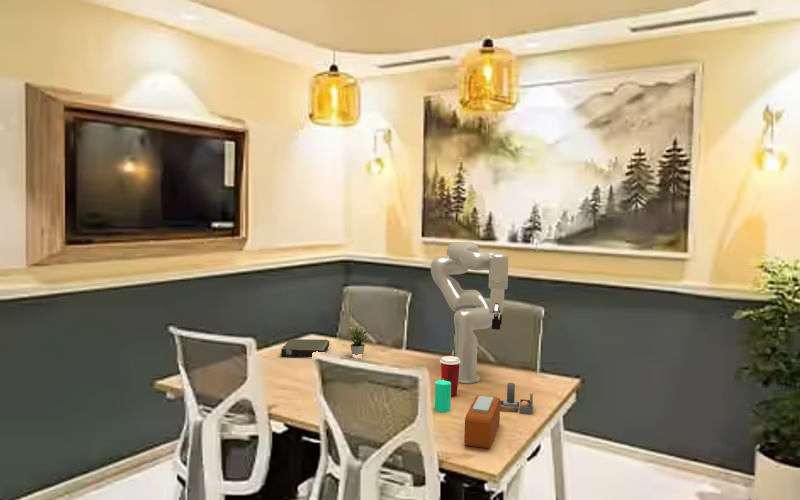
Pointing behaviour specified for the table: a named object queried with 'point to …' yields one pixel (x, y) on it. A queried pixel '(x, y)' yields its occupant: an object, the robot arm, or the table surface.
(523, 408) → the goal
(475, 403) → the alarm clock
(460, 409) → the table surface
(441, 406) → the candle
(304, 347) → the network switch
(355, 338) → the house plant
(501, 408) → the frame
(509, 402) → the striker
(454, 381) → the coffee cup
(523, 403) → the ball
